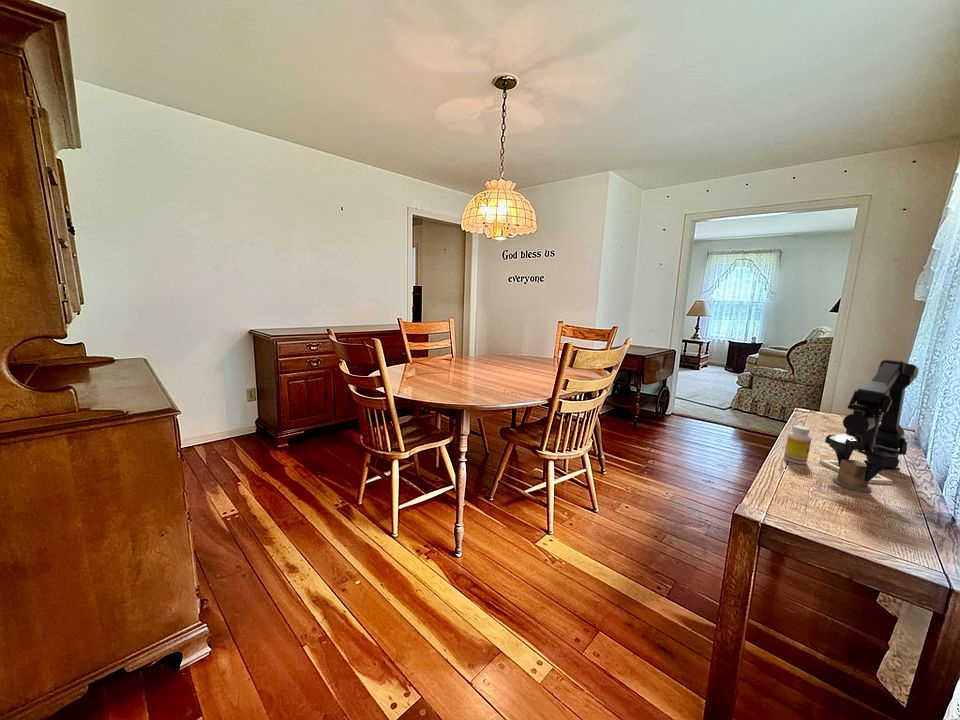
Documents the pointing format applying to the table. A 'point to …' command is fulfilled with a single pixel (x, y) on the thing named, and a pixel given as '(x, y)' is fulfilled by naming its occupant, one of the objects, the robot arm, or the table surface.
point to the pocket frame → (876, 479)
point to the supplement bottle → (798, 445)
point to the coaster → (851, 487)
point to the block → (852, 473)
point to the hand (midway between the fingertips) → (853, 474)
